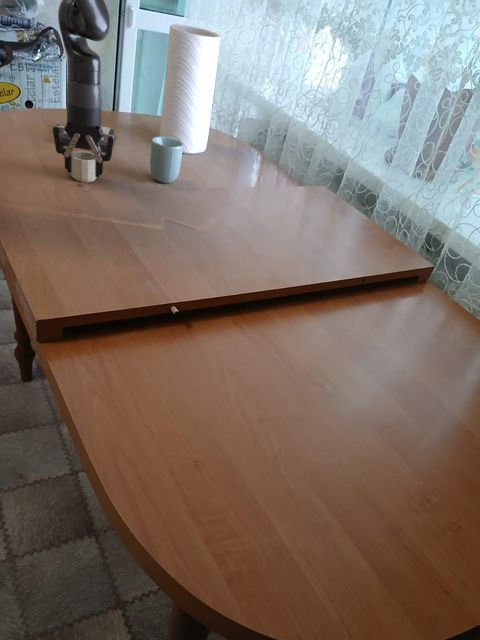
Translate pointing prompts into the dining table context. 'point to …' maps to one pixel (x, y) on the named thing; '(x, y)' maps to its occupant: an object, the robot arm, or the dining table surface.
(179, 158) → the cup
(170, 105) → the vase
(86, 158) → the faceted beige tumbler
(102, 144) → the scale
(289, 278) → the dining table surface
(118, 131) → the dining table surface
